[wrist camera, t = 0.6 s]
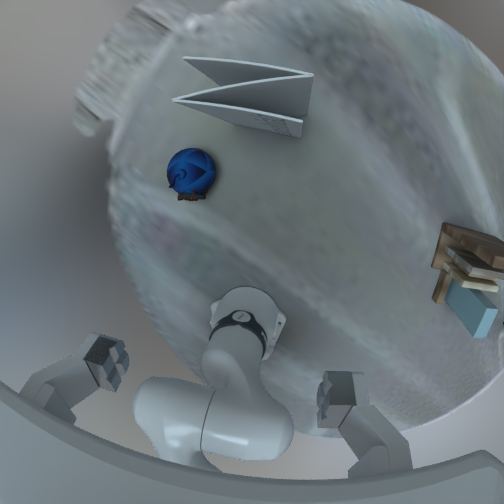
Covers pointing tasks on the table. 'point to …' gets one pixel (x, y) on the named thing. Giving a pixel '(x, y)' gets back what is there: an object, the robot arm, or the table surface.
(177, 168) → the bomb
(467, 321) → the light blue tall block
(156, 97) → the table surface
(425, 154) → the table surface
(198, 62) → the brochure
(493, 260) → the offcut rack
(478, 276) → the offcut stack
